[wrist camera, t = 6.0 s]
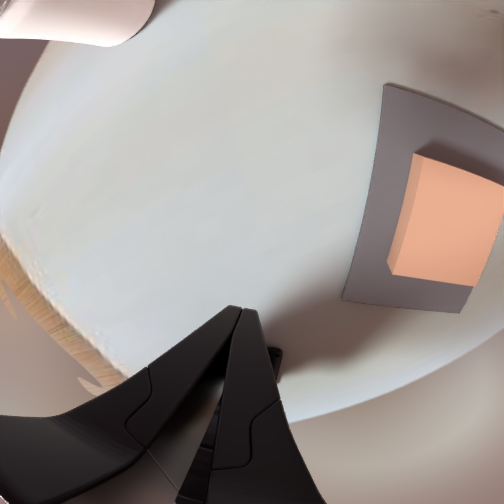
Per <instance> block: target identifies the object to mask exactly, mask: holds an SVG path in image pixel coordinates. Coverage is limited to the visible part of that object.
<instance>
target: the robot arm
mask: <svg viewBox="0 0 504 504" xmlns="http://www.w3.org/2000/svg"><path fill="white" fill-rule="evenodd" d="M282 354H283V352H282V350H280V349H276V348H269V347H267V346H266V342H265V338H264V335H263V331H262V327H261V323H260V320H259V316H258V312H257V311H256V310H253V309H248V308H244V309H242V308H241V307H238V306H233V305H229V306H227V307H226V308H224V309H223V310H222V311H220V312H219V313H218V314H216V315H215V316H214V317H212V318H211V319H210V320H208V321H207V322H206V323H205V324H203V325H202V326H201V327H199V328H198V329H197V330H195V331H194V332H192V333H191V334H190V335H188V336H187V337H186V338H184V339H183V340H182V341H180V342H179V343H178V344H176V345H175V346H174V347H172V348H171V349H169V350H168V351H167V352H165V353H164V354H163V355H161V356H160V357H159V358H157V359H156V360H154V361H153V362H152V363H150V364H149V365H148V368H147V367H144V368H143V369H142V370H140V371H139V372H138V373H136V374H135V375H133V376H132V377H130V378H129V379H127V380H126V381H124V382H123V383H121V384H119V385H118V386H116V387H114V388H112V389H111V390H109V391H107V392H105V393H103V394H101V395H100V396H98V397H96V398H94V399H92V400H90V401H88V402H86V403H84V404H82V405H80V406H78V407H76V408H74V409H72V410H70V411H68V412H65V413H63V414H60V415H56V416H51V417H19V416H6V415H5V416H4V415H0V504H173V503H174V504H327V503H326V502H325V500H324V499H323V497H322V496H321V494H320V492H319V491H318V489H317V487H316V485H315V483H314V481H313V479H312V477H311V475H310V473H309V471H308V469H307V466H306V464H305V462H304V460H303V458H302V456H301V454H300V452H299V450H298V447H297V445H296V443H295V440H294V438H293V435H292V433H291V430H290V428H289V424H288V421H287V418H286V415H285V412H284V408H283V405H282V401H281V400H280V394H279V391H278V387H277V383H276V380H277V376H278V372H279V368H280V364H281V359H282Z"/></svg>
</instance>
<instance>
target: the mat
mask: <svg viewBox="0 0 504 504" xmlns="http://www.w3.org/2000/svg"><path fill="white" fill-rule="evenodd" d="M413 153H416V154H419V155H423V156H426V157H429V158H432V159H436V160H439V161H442V162H445V163H448V164H451V165H453V166H456V167H459V168H462V169H465V170H467V171H470V172H473V173H475V174H478V175H480V176H483V177H485V178H488V179H490V180H492V181H495V182H497V183H499V184H501V185H503V186H504V132H502V131H501V130H499V129H497V128H495V127H493V126H491V125H489V124H487V123H485V122H483V121H481V120H479V119H477V118H475V117H473V116H471V115H469V114H467V113H464V112H462V111H460V110H458V109H455V108H453V107H450V106H448V105H445V104H443V103H440V102H438V101H435V100H432V99H430V98H427V97H424V96H421V95H418V94H415V93H412V92H409V91H406V90H402V89H399V88H396V87H392V86H388V85H384V86H383V97H382V107H381V116H380V125H379V132H378V139H377V146H376V153H375V159H374V165H373V171H372V176H371V182H370V187H369V192H368V197H367V202H366V206H365V211H364V216H363V220H362V224H361V229H360V233H359V237H358V241H357V245H356V249H355V253H354V256H353V260H352V264H351V267H350V271H349V274H348V278H347V281H346V285H345V288H344V291H343V295H342V301H349V302H357V303H365V304H373V305H381V306H390V307H398V308H407V309H417V310H427V311H437V312H448V313H459V314H460V312H461V310H462V308H463V306H464V305H465V303H466V301H467V299H468V297H469V295H470V293H471V290H472V288H473V286H467V285H460V284H453V283H447V282H440V281H433V280H427V279H420V278H413V277H406V276H400V275H393V274H392V272H391V270H390V268H389V266H388V264H387V258H388V255H389V252H390V248H391V245H392V242H393V238H394V235H395V231H396V228H397V224H398V220H399V217H400V213H401V209H402V205H403V201H404V196H405V192H406V187H407V183H408V178H409V173H410V168H411V163H412V157H413Z"/></svg>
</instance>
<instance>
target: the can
mask: <svg viewBox="0 0 504 504" xmlns="http://www.w3.org/2000/svg"><path fill="white" fill-rule="evenodd" d="M154 4H155V0H0V38H25V39H47V40H59V41H68V42H77V43H84V44H91V45H97V46H105V47H110V46H115V45H118V44H120V43H123V42H124V41H126V40H128V39H129V38H131V37H132V36H133V35H134V34H136V33H137V32H138V31H139V30H140V29H141V28H142V27H143V25H144V24H145V23H146V22H147V20H148V18H149V17H150V15H151V13H152V10H153V7H154Z"/></svg>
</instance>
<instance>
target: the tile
mask: <svg viewBox="0 0 504 504" xmlns="http://www.w3.org/2000/svg"><path fill="white" fill-rule="evenodd" d="M503 213H504V186H503V185H501V184H499V183H497V182H495V181H492V180H490V179H488V178H485V177H483V176H480V175H478V174H475V173H473V172H470V171H467V170H465V169H462V168H459V167H456V166H453V165H451V164H448V163H445V162H442V161H439V160H436V159H432V158H429V157H426V156H423V155H419V154H416V153H413V157H412V163H411V168H410V173H409V178H408V183H407V187H406V192H405V196H404V201H403V205H402V209H401V213H400V217H399V220H398V224H397V228H396V231H395V235H394V238H393V242H392V245H391V248H390V252H389V255H388V258H387V264H388V266H389V268H390V270H391V272H392V274H393V275H400V276H406V277H413V278H420V279H427V280H433V281H440V282H447V283H453V284H460V285H467V286H474V287H476V285H477V283H478V281H479V278H480V276H481V274H482V271H483V269H484V267H485V264H486V262H487V260H488V257H489V255H490V252H491V249H492V247H493V244H494V241H495V238H496V235H497V233H498V230H499V226H500V223H501V220H502V217H503Z"/></svg>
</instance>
